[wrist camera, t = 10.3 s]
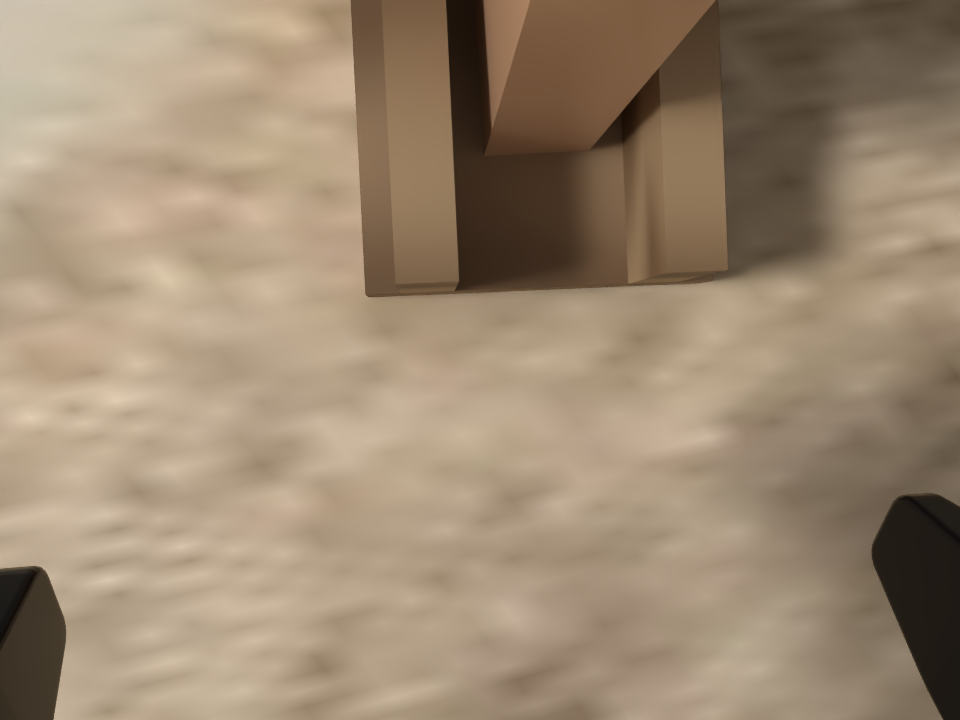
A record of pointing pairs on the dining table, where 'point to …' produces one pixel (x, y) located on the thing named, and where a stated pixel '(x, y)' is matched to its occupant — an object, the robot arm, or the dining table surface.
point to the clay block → (568, 66)
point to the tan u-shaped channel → (528, 170)
